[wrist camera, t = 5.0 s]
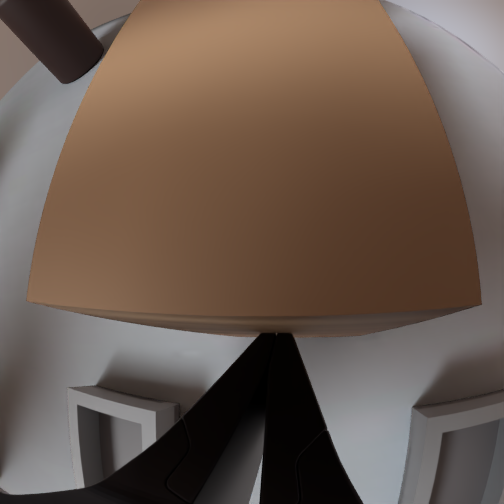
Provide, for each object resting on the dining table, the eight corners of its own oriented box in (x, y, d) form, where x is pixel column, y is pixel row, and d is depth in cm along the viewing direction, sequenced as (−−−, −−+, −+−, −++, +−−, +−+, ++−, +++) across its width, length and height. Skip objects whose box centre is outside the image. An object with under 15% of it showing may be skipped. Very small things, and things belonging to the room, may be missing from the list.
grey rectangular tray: (184, 542, 12) (166, 561, 9) (106, 513, 13) (83, 525, 11) (179, 403, 14) (155, 411, 12) (94, 385, 16) (67, 387, 14)
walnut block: (359, 335, 14) (482, 304, 2) (236, 336, 15) (25, 300, 4) (337, 103, 18) (320, -72, 6) (246, 112, 19) (178, -47, 8)
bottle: (53, 88, 28) (-36, -4, 10) (82, 51, 30) (7, -40, 11) (82, 81, 26) (-16, -30, 8) (114, 42, 28) (34, -66, 9)
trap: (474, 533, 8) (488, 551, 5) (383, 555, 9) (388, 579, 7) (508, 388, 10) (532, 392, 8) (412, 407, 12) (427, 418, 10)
